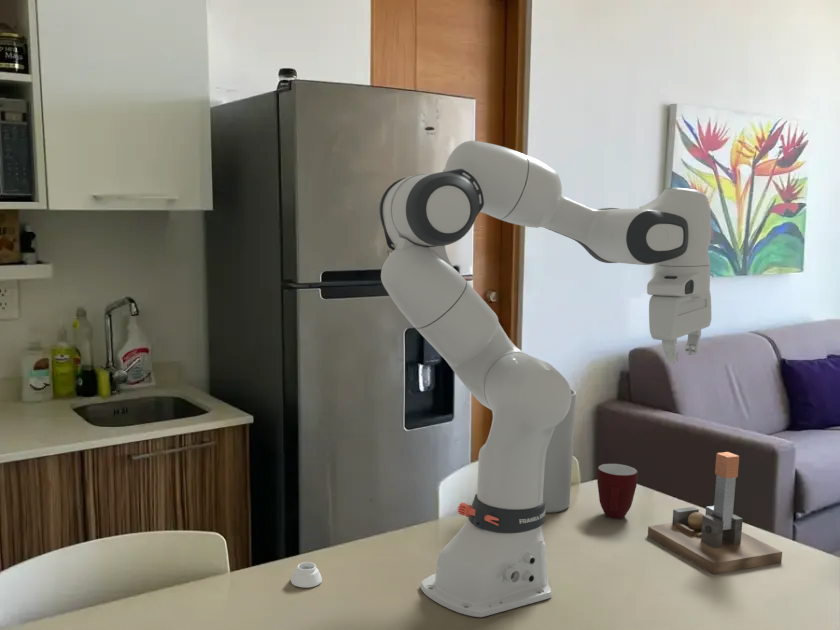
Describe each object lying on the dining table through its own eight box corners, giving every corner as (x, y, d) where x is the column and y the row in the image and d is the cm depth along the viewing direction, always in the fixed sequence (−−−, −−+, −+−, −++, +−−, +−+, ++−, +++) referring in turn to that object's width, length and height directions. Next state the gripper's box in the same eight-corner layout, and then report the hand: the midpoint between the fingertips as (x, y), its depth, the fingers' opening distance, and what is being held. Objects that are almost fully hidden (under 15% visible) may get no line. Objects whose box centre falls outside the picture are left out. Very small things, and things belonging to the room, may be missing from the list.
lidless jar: (286, 587, 132) (316, 591, 131) (287, 570, 131) (316, 574, 130) (296, 574, 137) (325, 578, 136) (297, 558, 136) (325, 561, 135)
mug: (637, 528, 162) (640, 480, 161) (596, 525, 164) (599, 477, 162) (632, 510, 173) (635, 465, 171) (594, 507, 174) (596, 462, 173)
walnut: (700, 534, 155) (701, 517, 154) (683, 529, 157) (685, 512, 157) (709, 530, 157) (710, 513, 157) (692, 525, 160) (694, 508, 159)
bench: (713, 574, 142) (716, 536, 141) (647, 536, 159) (650, 501, 158) (781, 562, 148) (784, 525, 147) (711, 526, 165) (714, 493, 164)
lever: (721, 530, 149) (727, 457, 147) (704, 522, 153) (709, 450, 152) (733, 529, 150) (739, 456, 149) (715, 520, 154) (721, 449, 153)
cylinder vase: (509, 511, 170) (515, 394, 167) (512, 491, 182) (518, 382, 179) (570, 516, 168) (576, 398, 165) (569, 496, 180) (575, 386, 177)
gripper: (687, 275, 152) (685, 348, 154) (642, 285, 136) (641, 366, 138) (721, 277, 148) (719, 351, 150) (679, 287, 132) (677, 370, 134)
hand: (681, 358), depth 144 cm, fingers open, 8 cm apart
